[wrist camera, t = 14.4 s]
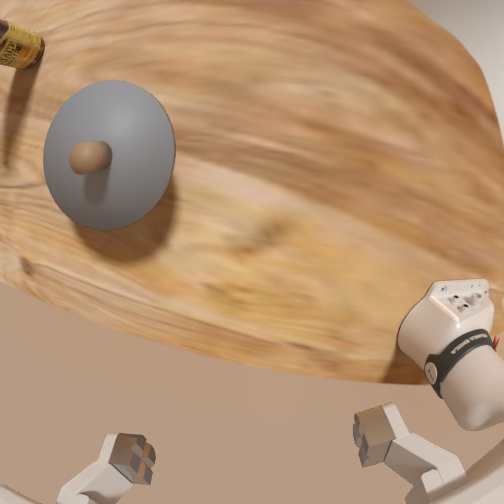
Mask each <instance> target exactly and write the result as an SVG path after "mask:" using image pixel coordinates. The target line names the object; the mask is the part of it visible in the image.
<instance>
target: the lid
mask: <svg viewBox="0 0 504 504" xmlns="http://www.w3.org/2000/svg"><path fill="white" fill-rule="evenodd" d="M175 156H176V144H175V136H174V131H173V127H172V124H171V121H170V119H169V116H168V114H167V113H166V111H165V109H164V108H163V106H162V105H161V104H160V102H159V101H158V100H157V99H156V98H155V97H154V96H153V95H152V94H151V93H149V92H148V91H146V90H145V89H143V88H141V87H139V86H137V85H134V84H132V83H129V82H125V81H118V80H107V81H101V82H97V83H94V84H91V85H89V86H87V87H85V88H83V89H81V90H79V91H78V92H77V93H75V94H74V95H73V96H71V97H70V98H69V99H68V100H67V101H66V102H65V103H64V104H63V106H62V107H61V108H60V109H59V111H58V112H57V114H56V115H55V117H54V119H53V121H52V123H51V125H50V128H49V130H48V133H47V137H46V140H45V146H44V154H43V165H44V174H45V179H46V182H47V186H48V188H49V191H50V193H51V195H52V197H53V199H54V201H55V202H56V204H57V205H58V207H59V208H60V209H61V210H62V211H63V212H64V213H65V214H66V215H67V216H68V217H69V218H70V219H72V220H73V221H75V222H76V223H78V224H80V225H82V226H84V227H87V228H90V229H94V230H101V231H110V230H116V229H120V228H124V227H127V226H129V225H131V224H133V223H135V222H136V221H138V220H139V219H141V218H142V217H144V216H145V215H146V214H147V213H148V212H149V211H151V210H152V209H153V207H154V206H155V205H156V204H157V203H158V202H159V200H160V199H161V197H162V196H163V194H164V193H165V191H166V189H167V187H168V185H169V182H170V179H171V177H172V173H173V169H174V164H175Z"/></svg>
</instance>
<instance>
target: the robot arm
mask: <svg viewBox="0 0 504 504" xmlns="http://www.w3.org/2000/svg"><path fill="white" fill-rule="evenodd" d="M493 320H494V306H493V303H492V302H491V300H490V299H489V285H488V282H487V281H486V280H485V279H470V280H454V281H437V282H435V283H434V284H433V285H432V286H431V287H430V289H429V291H428V292H427V294H426V296H425V297H424V298H423V299H422V300H421V301H420V302H419V303H418V304H417V305H416V306H415V307H414V308H413V309H412V310H411V311H410V312H409V314H408V315H407V316H406V318H405V320H404V321H403V323H402V325H401V328H400V331H399V335H398V345H399V348H400V350H401V351H402V352H403V353H404V354H406V355H407V356H409V357H410V358H411V359H412V360H414V361H415V362H416V363H417V364H418V365H419V366H420V367H421V369H422V370H423V371H424V372H425V375H426V377H427V379H428V381H429V383H430V384H431V386H432V387H433V389H434V390H435V392H436V393H437V395H438V396H439V397H440V398H441V399H444V401H445V403H446V404H447V406H448V408H449V409H450V411H451V413H452V414H453V416H454V418H455V419H456V421H457V423H458V424H459V426H461V428H463V429H465V430H467V431H479V430H482V429H486V428H489V427H491V426H494V425H496V424H498V423H502V422H504V360H503V359H502V358H501V357H500V356H499V355H498V354H497V353H496V347H497V345H498V341H499V338H498V340H497V335H496V336H495V338H494V341H493V343H492V340H491V338H490V332H491V328H492V324H493ZM496 340H497V342H496ZM354 419H355V423H354V424H353V436H354V440H355V444H356V446H358V447H359V448H360V450H359V457H360V461H361V464H362V467H363V468H364V467H367V466H371V465H375V464H378V463H381V462H384V463H385V464H386V465H387V466H388V467H390V468H391V469H392V470H394V471H395V472H396V473H398V474H399V475H400V476H402V477H403V478H404V479H406V480H407V481H408V482H410V483H411V484H412V485H414V487H413V488H412V489H411V491H410V492H409V493H408V494H407V496H406V497H405V501H406V504H504V439H503V440H502V441H501V442H500V443H499V444H497V445H496V446H495V447H494V448H493V449H492V450H490V451H489V452H488V453H487V454H486V455H485V456H483V457H482V458H481V459H480V460H479V461H477V462H476V463H475V464H473V465H472V466H471V467H470V468H469V469H468V470H467V471H466V472H465V471H464V469H463V467H462V465H461V463H460V461H459V459H458V457H457V456H455V455H453V454H451V453H449V452H447V451H445V450H444V449H442V448H440V447H438V446H436V445H434V444H432V443H430V442H429V441H427V440H425V439H423V438H421V437H420V436H418V435H416V434H414V433H411V434H409V432H408V429H407V427H406V425H405V423H404V421H403V419H402V417H401V415H400V413H399V410H398V408H397V406H396V404H394V403H393V402H391V403H388V404H385V405H382V406H378V407H375V408H371V409H368V410H365V411H361V412H358V413H356V414H355V415H354ZM155 459H156V457H155V451H154V448H153V447H152V445H150V444H149V443H147V442H146V438H145V437H144V436H143V435H137V434H124V433H115V432H109V433H108V434H107V436H106V439H105V442H104V444H103V447H102V450H101V453H100V456H99V459H98V461H94V462H93V463H92V464H91V465H89V466H88V467H87V468H86V469H84V470H83V471H82V472H81V473H79V474H78V475H77V476H76V477H74V478H73V479H72V480H71V481H69V482H68V483H67V484H65V485H64V486H63V487H62V489H61V491H60V494H59V497H58V500H57V503H56V504H116V502H117V501H118V500H119V499H120V498H121V497H122V496H123V495H124V494H125V492H126V491H127V490H128V489H129V488H130V487H131V486H132V485H133V484H132V483H134V484H143V485H150V484H151V478H152V474H153V472H152V470H151V469H150V468H151V467H152V466H153V465H154V464H155ZM0 504H41V503H39V502H36V501H34V500H33V499H30V498H29V497H26V496H25V495H23V494H21V493H19V492H17V491H15V490H13V489H11V488H9V487H8V486H5V485H0Z"/></svg>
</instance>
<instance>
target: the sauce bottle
mask: <svg viewBox="0 0 504 504" xmlns="http://www.w3.org/2000/svg"><path fill="white" fill-rule="evenodd" d="M43 49H44V40H43V38H42V37H40V36H39V35H38V34H36V33H34V32H32V31H29V30H27V29H25V28H22V27H20V26H17V25H15V24H13V23H10V22H7V21H3V20H0V65H5V66H9V67H14V68H18V69H20V68H21V69H26V68H30V67H31V66H33V65H34V64H35V63H36V62H37V61H38V59H39V58H40V57H41V55H42V53H43Z"/></svg>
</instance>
